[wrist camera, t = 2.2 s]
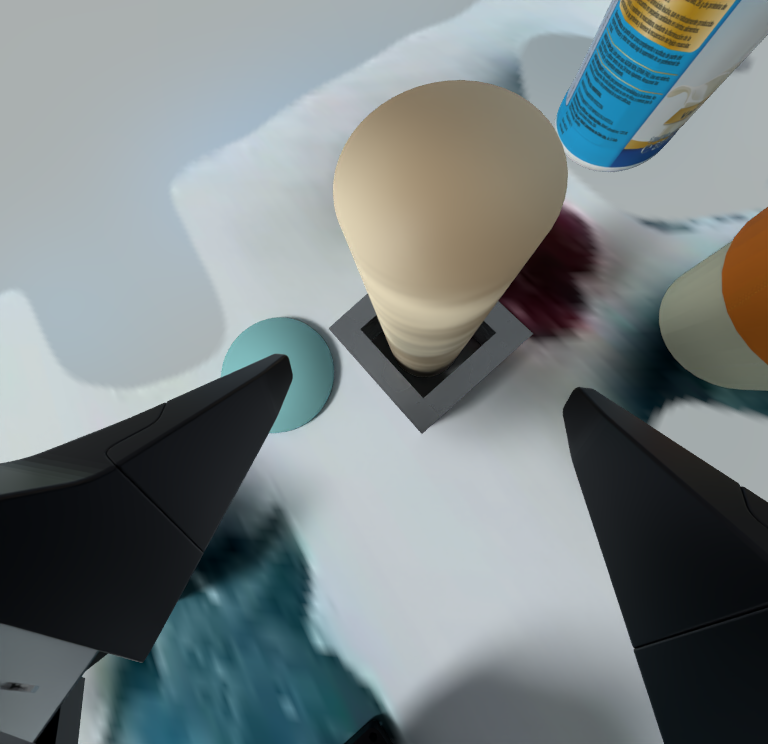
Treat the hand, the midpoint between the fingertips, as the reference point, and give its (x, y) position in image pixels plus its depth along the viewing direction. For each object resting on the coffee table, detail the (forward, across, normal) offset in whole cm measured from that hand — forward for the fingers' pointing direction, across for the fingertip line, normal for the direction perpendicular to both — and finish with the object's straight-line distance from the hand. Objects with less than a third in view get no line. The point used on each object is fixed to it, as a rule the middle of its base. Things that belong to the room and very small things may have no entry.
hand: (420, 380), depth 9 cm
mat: (+8, +11, +8) cm, 16 cm away
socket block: (+11, 0, +5) cm, 12 cm away
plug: (+11, 0, +5) cm, 12 cm away
